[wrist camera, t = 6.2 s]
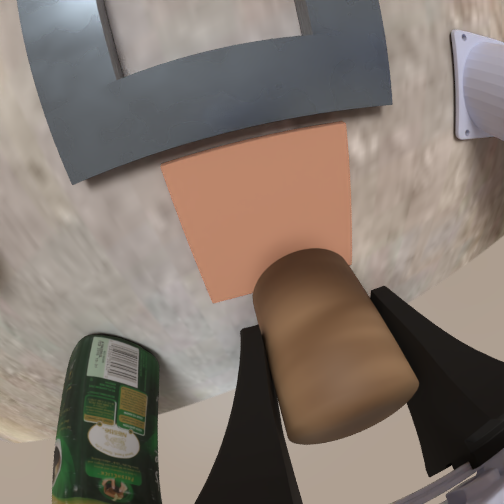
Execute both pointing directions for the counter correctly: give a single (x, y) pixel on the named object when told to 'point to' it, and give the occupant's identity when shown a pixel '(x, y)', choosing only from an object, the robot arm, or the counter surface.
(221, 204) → the mat
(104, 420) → the coffee jar
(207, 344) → the counter surface
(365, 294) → the brown wooden cylinder
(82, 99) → the grey square frame
